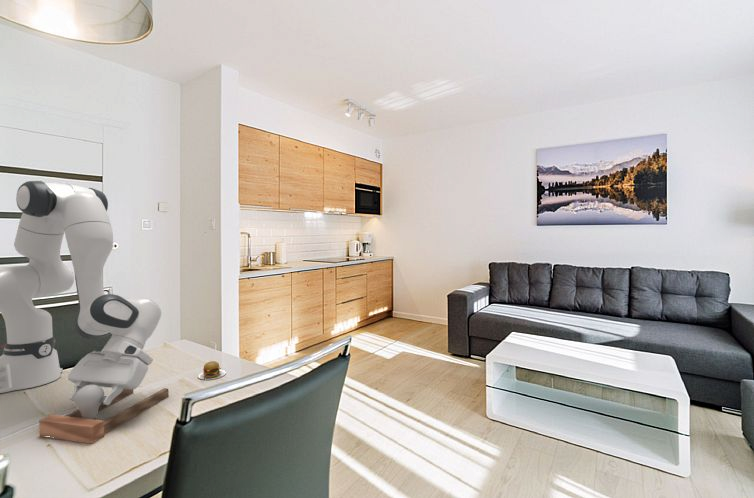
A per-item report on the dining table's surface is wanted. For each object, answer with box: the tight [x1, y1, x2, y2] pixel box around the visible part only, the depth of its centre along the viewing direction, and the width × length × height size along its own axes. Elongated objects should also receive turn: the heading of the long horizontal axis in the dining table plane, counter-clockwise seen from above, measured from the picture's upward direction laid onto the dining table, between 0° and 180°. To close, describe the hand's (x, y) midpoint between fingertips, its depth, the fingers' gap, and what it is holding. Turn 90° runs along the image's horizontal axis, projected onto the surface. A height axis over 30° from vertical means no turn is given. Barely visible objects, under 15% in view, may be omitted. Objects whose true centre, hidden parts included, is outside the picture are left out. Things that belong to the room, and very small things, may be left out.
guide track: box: [38, 388, 169, 444], centre depth 100 cm, size 25×16×4 cm, turn 169°
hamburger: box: [197, 360, 227, 381], centre depth 128 cm, size 12×12×6 cm
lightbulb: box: [73, 385, 105, 420], centre depth 94 cm, size 6×6×11 cm
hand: (88, 402), depth 94 cm, fingers open, 8 cm apart
